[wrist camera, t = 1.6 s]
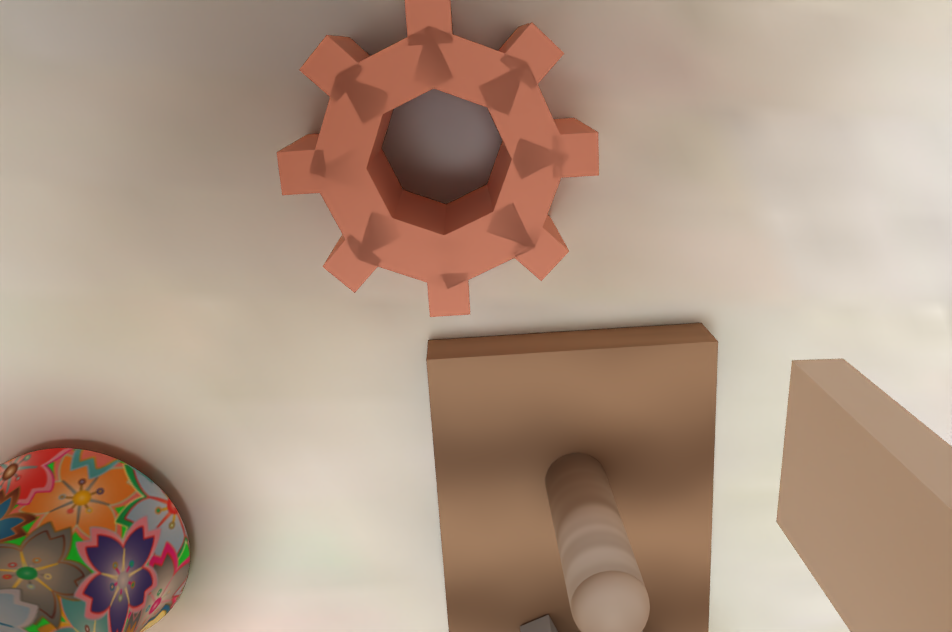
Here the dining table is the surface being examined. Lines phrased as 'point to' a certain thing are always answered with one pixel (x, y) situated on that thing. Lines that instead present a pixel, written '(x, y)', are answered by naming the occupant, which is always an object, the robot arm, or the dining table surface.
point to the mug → (86, 545)
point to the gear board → (573, 413)
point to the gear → (540, 625)
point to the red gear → (419, 218)
